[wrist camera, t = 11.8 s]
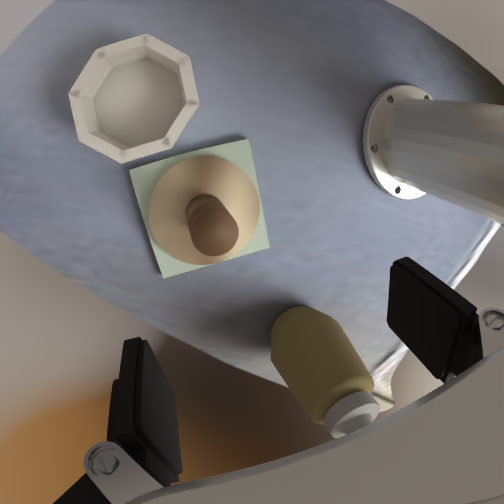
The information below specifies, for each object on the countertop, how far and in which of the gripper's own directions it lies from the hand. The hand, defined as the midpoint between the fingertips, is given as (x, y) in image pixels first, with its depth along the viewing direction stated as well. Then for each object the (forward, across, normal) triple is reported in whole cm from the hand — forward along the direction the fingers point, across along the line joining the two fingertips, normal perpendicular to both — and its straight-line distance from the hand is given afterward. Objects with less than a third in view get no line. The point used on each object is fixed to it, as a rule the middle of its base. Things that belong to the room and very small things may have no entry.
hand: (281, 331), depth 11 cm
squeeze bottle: (+18, -5, +16) cm, 25 cm away
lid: (+17, +1, 0) cm, 17 cm away
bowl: (+18, +4, -10) cm, 21 cm away
